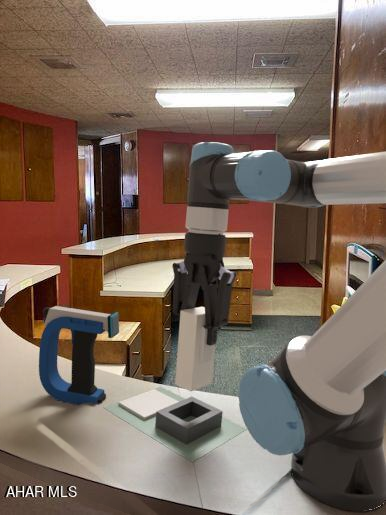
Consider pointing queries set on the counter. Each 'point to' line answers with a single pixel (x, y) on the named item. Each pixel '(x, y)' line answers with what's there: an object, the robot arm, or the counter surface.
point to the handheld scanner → (73, 352)
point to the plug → (192, 351)
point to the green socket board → (177, 421)
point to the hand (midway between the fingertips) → (196, 357)
